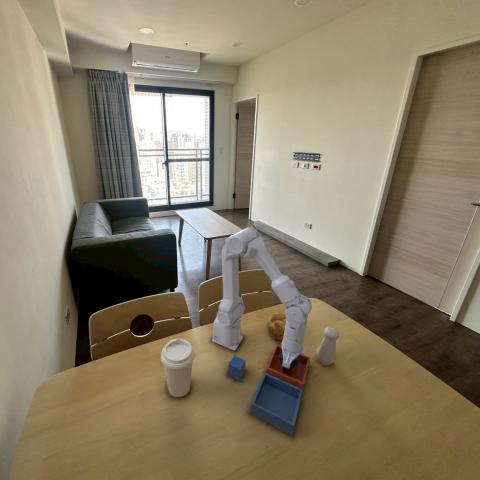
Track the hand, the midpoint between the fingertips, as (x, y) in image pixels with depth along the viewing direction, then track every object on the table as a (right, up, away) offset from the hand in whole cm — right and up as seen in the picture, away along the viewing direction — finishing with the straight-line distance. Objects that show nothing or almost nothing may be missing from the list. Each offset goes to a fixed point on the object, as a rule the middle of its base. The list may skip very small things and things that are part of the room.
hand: (288, 367), depth 80 cm
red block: (0, -1, 0) cm, 1 cm away
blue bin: (-6, -6, -10) cm, 13 cm away
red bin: (0, -2, +1) cm, 2 cm away
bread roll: (+2, +5, +18) cm, 19 cm away
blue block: (-17, -2, 0) cm, 17 cm away
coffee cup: (-34, -4, -5) cm, 35 cm away
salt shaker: (+14, 0, +5) cm, 15 cm away
